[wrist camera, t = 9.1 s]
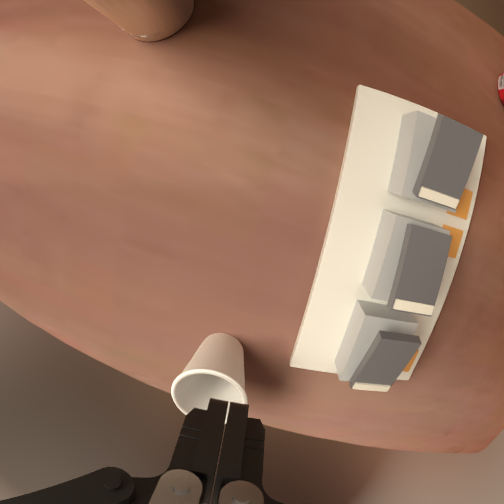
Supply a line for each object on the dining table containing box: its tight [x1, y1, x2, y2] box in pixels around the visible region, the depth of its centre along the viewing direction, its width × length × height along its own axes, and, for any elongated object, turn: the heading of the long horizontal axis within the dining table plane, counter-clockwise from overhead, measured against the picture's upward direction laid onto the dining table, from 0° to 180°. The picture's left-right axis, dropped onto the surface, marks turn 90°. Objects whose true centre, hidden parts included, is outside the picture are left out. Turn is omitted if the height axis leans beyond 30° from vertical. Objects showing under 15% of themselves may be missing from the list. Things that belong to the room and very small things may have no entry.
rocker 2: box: [412, 113, 483, 210], centre depth 25 cm, size 8×5×1 cm, turn 168°
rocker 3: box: [387, 224, 452, 317], centre depth 28 cm, size 8×5×1 cm, turn 169°
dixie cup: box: [171, 333, 248, 424], centre depth 36 cm, size 8×8×10 cm
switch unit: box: [290, 84, 486, 381], centre depth 32 cm, size 35×18×6 cm, turn 169°
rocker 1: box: [349, 330, 422, 392], centre depth 31 cm, size 8×5×2 cm, turn 168°
